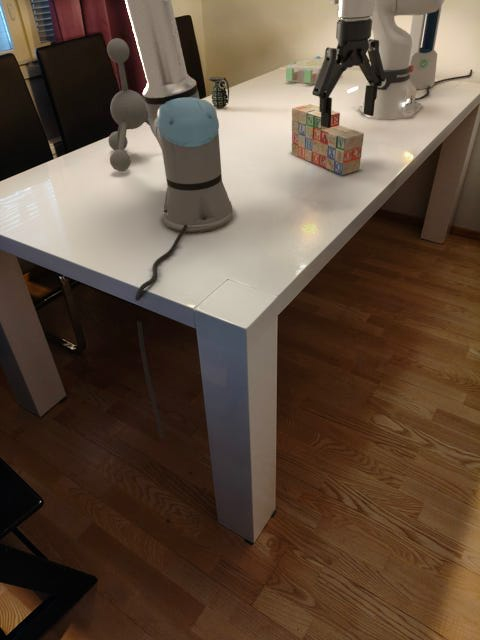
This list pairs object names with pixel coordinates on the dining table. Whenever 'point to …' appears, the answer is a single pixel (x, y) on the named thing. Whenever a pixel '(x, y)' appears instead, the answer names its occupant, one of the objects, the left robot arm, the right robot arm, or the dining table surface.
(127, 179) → the dining table surface
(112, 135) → the molecular model
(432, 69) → the electronic device
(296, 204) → the dining table surface
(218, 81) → the grenade
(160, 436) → the left robot arm
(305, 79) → the decorative block
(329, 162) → the stack of blocks
